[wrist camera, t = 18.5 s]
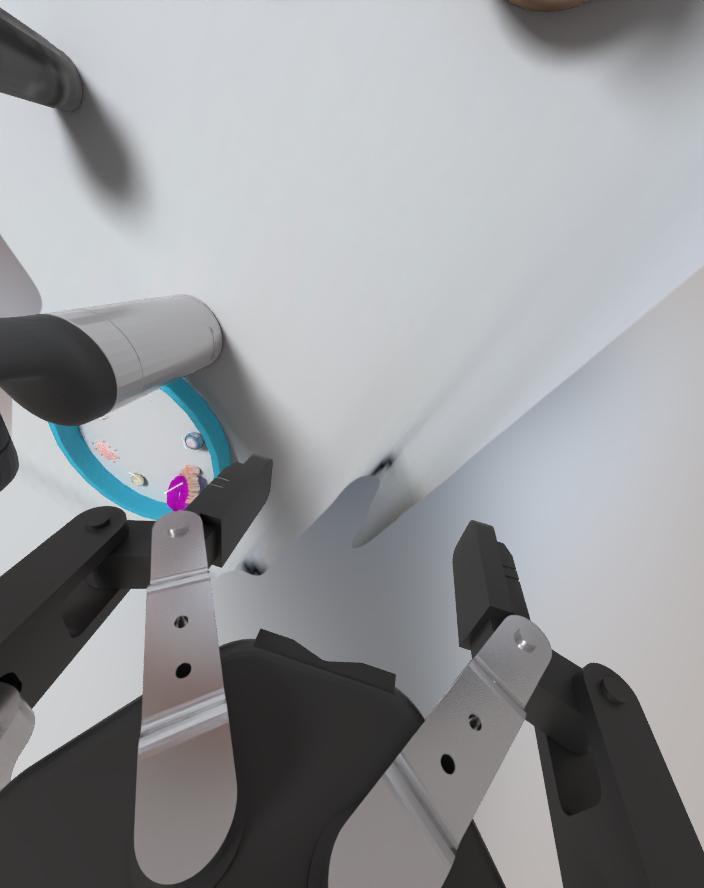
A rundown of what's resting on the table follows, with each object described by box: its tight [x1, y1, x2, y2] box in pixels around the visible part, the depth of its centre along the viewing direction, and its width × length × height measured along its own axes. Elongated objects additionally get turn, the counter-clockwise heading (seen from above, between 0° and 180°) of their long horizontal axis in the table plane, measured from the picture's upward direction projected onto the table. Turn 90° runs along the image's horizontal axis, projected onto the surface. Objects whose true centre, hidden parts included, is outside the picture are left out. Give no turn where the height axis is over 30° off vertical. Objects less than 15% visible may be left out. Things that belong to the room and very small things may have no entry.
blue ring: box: [48, 378, 231, 520], centre depth 53 cm, size 30×30×6 cm
